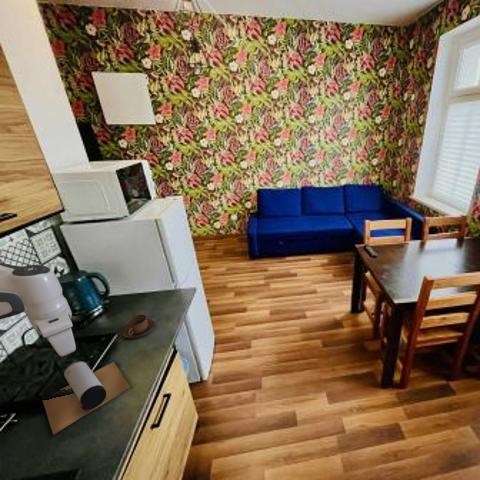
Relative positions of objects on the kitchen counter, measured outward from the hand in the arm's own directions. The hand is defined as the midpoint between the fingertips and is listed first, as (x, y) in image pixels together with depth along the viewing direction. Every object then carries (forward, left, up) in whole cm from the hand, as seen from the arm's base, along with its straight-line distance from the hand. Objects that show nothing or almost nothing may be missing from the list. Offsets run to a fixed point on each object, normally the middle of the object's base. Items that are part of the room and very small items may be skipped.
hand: (66, 350), depth 85 cm
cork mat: (0, -3, -18) cm, 18 cm away
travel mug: (0, +8, -14) cm, 16 cm away
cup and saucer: (+23, +17, -18) cm, 34 cm away
